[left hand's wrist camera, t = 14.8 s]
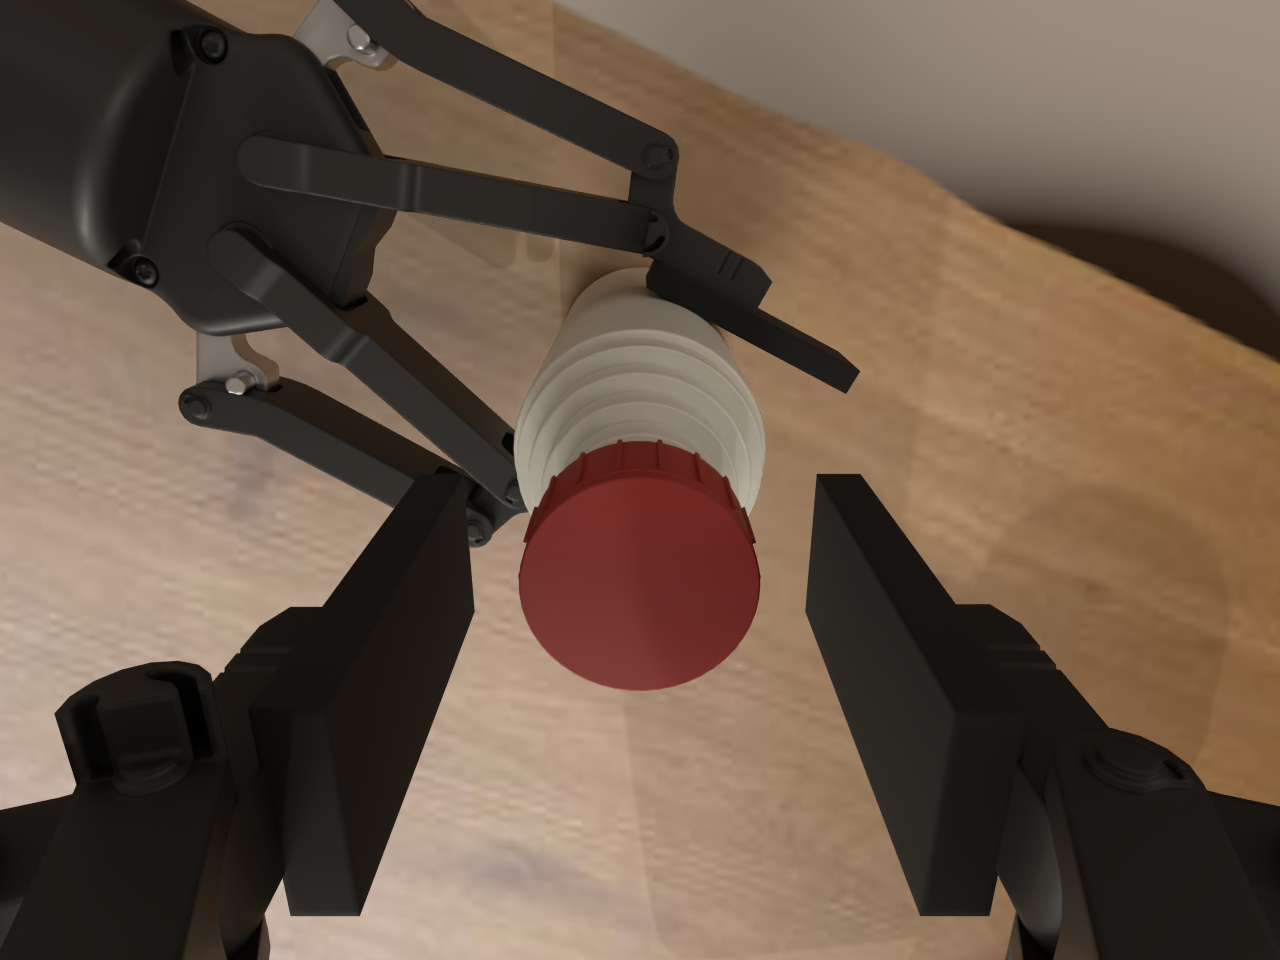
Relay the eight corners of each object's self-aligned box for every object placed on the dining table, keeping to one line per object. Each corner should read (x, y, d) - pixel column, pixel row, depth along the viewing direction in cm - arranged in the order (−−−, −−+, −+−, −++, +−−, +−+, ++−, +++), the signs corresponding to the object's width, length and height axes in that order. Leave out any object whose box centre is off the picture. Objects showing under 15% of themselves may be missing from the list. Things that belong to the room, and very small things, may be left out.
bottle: (582, 435, 32) (513, 749, 14) (544, 286, 30) (411, 445, 12) (729, 404, 31) (841, 691, 14) (701, 250, 29) (791, 364, 12)
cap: (792, 552, 15) (813, 602, 13) (625, 670, 15) (624, 733, 14) (655, 390, 14) (658, 422, 12) (484, 528, 14) (464, 577, 13)
